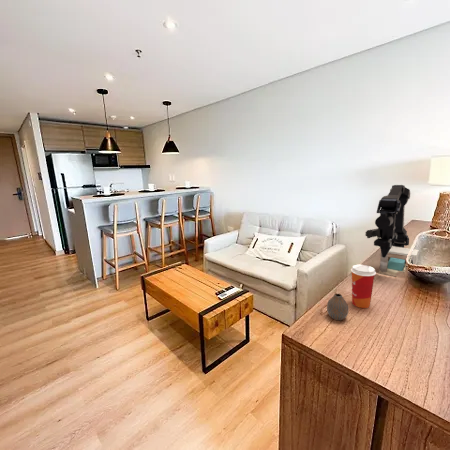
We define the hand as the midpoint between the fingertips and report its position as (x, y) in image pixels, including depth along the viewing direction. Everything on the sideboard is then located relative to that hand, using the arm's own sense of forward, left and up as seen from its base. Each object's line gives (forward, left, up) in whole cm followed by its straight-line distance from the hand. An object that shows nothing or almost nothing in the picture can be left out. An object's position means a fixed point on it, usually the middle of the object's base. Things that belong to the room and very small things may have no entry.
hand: (384, 256), depth 117 cm
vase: (+49, -5, -9) cm, 51 cm away
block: (-8, +4, -8) cm, 12 cm away
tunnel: (-18, +4, -9) cm, 20 cm away
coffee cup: (+35, -1, -9) cm, 37 cm away
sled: (-5, +3, -9) cm, 11 cm away
